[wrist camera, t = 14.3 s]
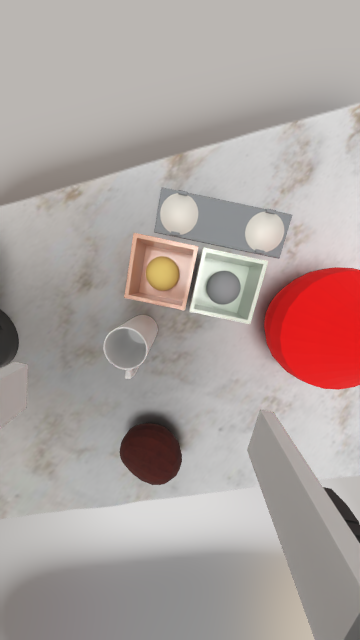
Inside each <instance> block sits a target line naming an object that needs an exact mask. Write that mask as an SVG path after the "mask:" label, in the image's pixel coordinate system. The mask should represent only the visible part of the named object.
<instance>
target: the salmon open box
mask: <svg viewBox="0 0 360 640" xmlns="http://www.w3.org/2000/svg"><path fill="white" fill-rule="evenodd" d="M197 251H198V246H194V245H189V244H185V243H180V242H175V241H170V240H166V239H161V238H156V237H151V236H147V235H142V234H137V233H134V234H133V241H132V248H131V255H130V262H129V269H128V275H127V282H126V289H125V296H124V298H128V299H133V300H137V301H142V302H147V303H152V304H156V305H161V306H166V307H171V308H175V309H180V310H185V307H186V303H187V298H188V293H189V289H190V284H191V279H192V275H193V270H194V265H195V261H196V256H197ZM160 256H164V257H168V258H170V259H172V260H173V261H174V262H175V263H176V264H177V266H178V268H179V279H178V282H177V283H176V285H175V286H174V287H173V288H171V289H169V290H166V291H160V290H157V289H155V288H153V287H152V286H151V285H150V284H149V283H148V281H147V278H146V268H147V266H148V264H149V262H150V261H151V260H153V259H154V258H156V257H160Z"/></svg>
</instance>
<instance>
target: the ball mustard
mask: <svg viewBox="0 0 360 640" xmlns="http://www.w3.org/2000/svg"><path fill="white" fill-rule="evenodd" d="M146 278H147V281H148V283H149V284H150V285H151V286H152V287H153V288H155V289H157V290H160V291H166V290H169V289H171V288H173V287H174V286H175V285H176V283H177V282H178V279H179V268H178V266H177V264H176V263H175V262H174V261H173V260H172V259H170V258H168V257H164V256H160V257H156V258H154V259H153V260H151V261H150V262H149V264H148V266H147V268H146Z"/></svg>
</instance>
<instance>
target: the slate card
mask: <svg viewBox="0 0 360 640" xmlns="http://www.w3.org/2000/svg"><path fill="white" fill-rule="evenodd" d="M291 218H292V215H291V214H286V213H281V212H277V211H276V210H271V209H262V208H258V207H253V206H248V205H243V204H239V203H234V202H229V201H224V200H220V199H215V198H210V197H205V196H201V195H196V194H191V193H188V192H185V191H181V190H179V191H177V190H172V189H167V188H163V187H162V188H161V194H160V200H159V206H158V212H157V218H156V224H155V230H154V232H156V233H161V234H165V235H170V236H175V237H180V238H184V239H189V240H194V241H199V242H203V243H208V244H213V245H218V246H222V247H227V248H232V249H237V250H241V251H246V252H251V253H256V254H260V255H265V256H270V257H275V258H280V254H281V251H282V248H283V244H284V241H285V238H286V234H287V231H288V228H289V224H290V221H291Z"/></svg>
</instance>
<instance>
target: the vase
mask: <svg viewBox="0 0 360 640" xmlns="http://www.w3.org/2000/svg"><path fill="white" fill-rule="evenodd" d="M264 328H265V335H266V341H267V345H268V347H269V349H270V352H271V354H272V356H273V357H274V358H275V359H276V361H277V362H278V363H279V364H280V365H281V366H282V367H283V368H284V369H285V370H286V371H287V372H288V373H290V374H291V375H293V376H295V377H296V378H298V379H300V380H302V381H304V382H306V383H308V384H311V385H314V386H317V387H320V388H324V389H344V388H350V387H355V386H358V385H360V270H358V269H354V268H328V269H322V270H317V271H313V272H309V273H307V274H305V275H303V276H301V277H299V278H297V279H295V280H293V281H292V282H291V283H289V284H288V285H287V286H285V287H284V288H283V289H282V290H281V291H279V292H278V293H277V294H276V296H275V297H274V298H273V300H272V301H271V302H270V304H269V307H268V309H267V312H266V314H265V322H264Z"/></svg>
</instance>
